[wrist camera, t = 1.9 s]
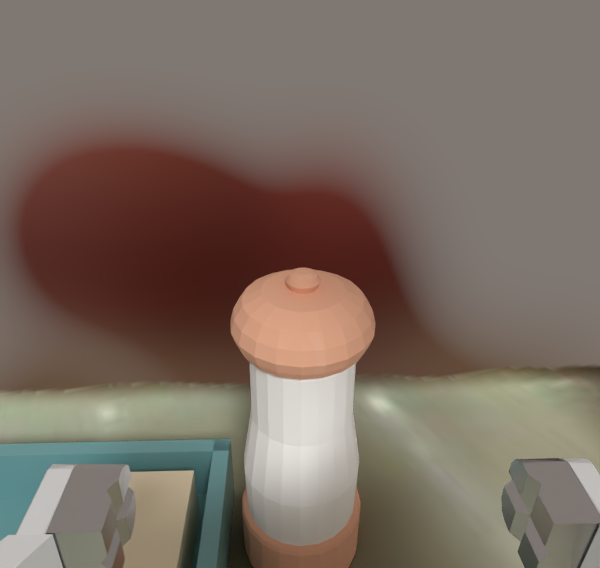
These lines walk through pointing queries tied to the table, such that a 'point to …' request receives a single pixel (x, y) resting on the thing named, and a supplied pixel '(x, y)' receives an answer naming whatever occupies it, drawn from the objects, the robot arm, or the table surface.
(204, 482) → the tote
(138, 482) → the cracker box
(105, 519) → the robot arm
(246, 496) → the salt shaker
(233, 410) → the table surface
